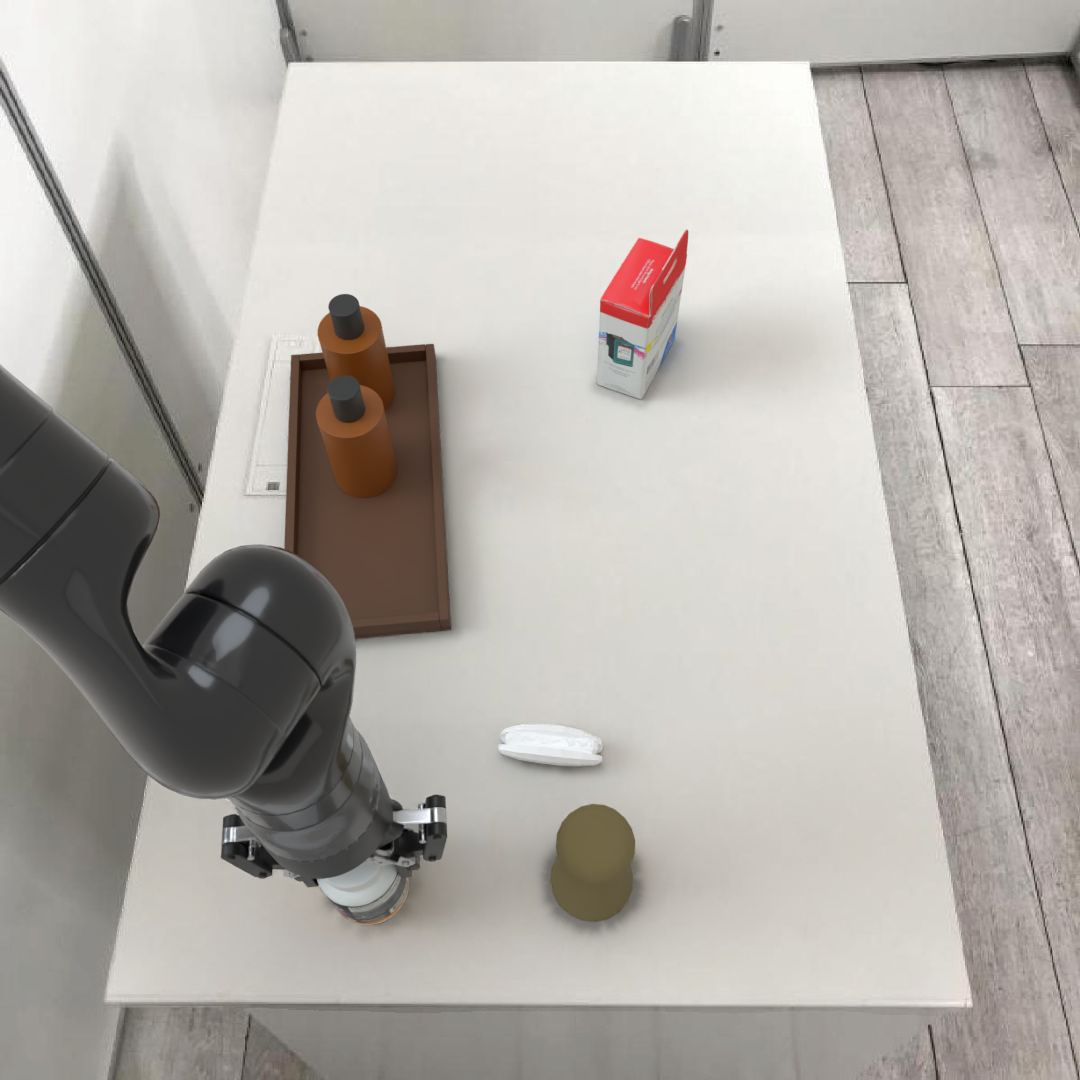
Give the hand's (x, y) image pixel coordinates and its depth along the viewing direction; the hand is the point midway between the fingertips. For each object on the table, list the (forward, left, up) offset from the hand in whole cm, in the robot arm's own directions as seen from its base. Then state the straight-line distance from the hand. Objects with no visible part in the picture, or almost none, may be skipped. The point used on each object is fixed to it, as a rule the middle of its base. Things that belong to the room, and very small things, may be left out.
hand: (360, 867), depth 73 cm
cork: (+16, -1, -6) cm, 17 cm away
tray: (0, +35, -6) cm, 35 cm away
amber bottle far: (0, +45, -5) cm, 46 cm away
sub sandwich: (+14, +9, -6) cm, 18 cm away
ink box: (+26, +47, -6) cm, 54 cm away
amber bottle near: (0, +36, -5) cm, 37 cm away
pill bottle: (0, 0, -6) cm, 6 cm away
